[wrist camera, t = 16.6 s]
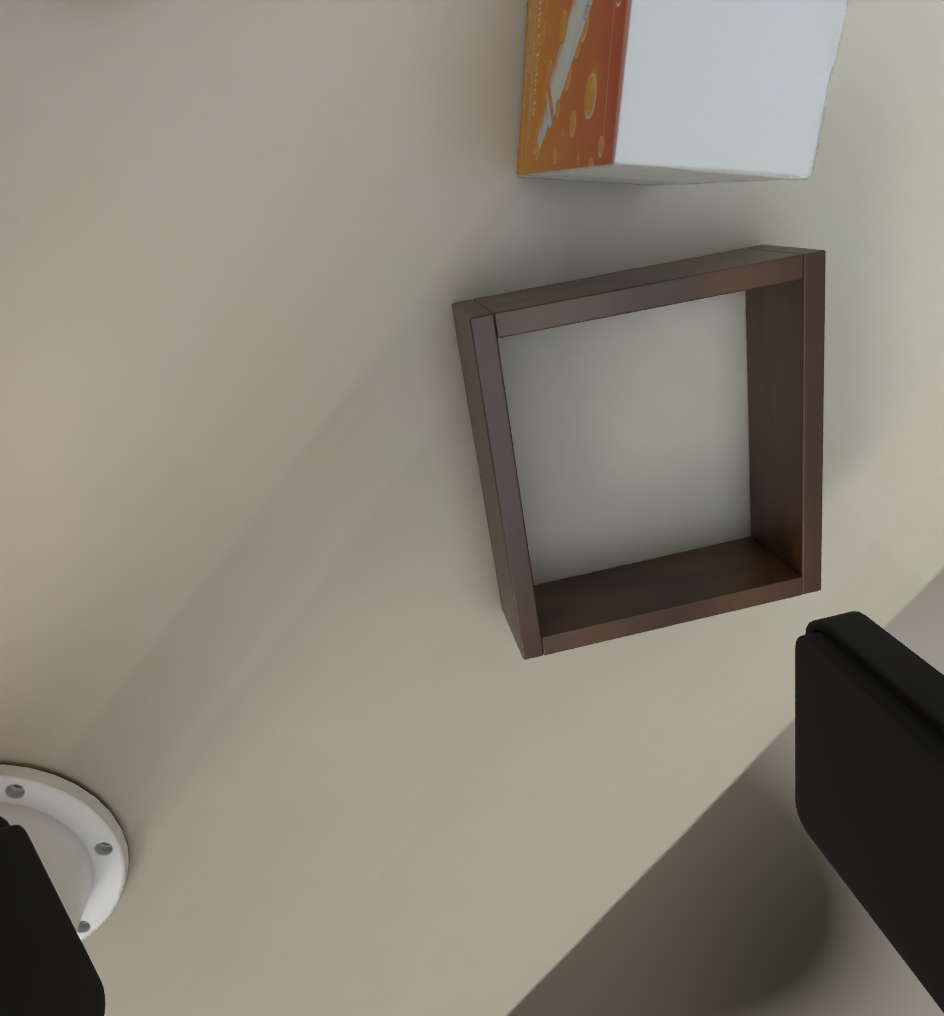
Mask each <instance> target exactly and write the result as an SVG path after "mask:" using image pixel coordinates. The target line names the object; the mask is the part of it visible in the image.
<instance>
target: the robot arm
mask: <svg viewBox="0 0 944 1016" xmlns="http://www.w3.org/2000/svg"><path fill="white" fill-rule="evenodd" d="M795 796H796V797H795V801H796V808H797V812H798V815H799V818H800V821H801V822H802V825H803V826H804V829H805V830H806V832H807V833H808V835H809V836H810V837H811V839H812V840H813V841H814V842H815V844H816V845H817V846H818V848H819V849H820V850H821V852H822V853H823V854H824V856H825V857H826V858H827V860H828V861H829V862H830V864H831V865H832V866H833V868H834V869H835V870H836V871H837V873H838V874H839V875H840V877H841V878H842V879H843V881H844V882H845V883H846V885H847V886H848V887H849V888H850V890H851V891H852V893H853V894H854V895H855V897H856V898H857V899H858V900H859V902H860V903H861V904H862V906H863V907H864V908H865V910H866V911H867V912H868V913H869V915H870V916H871V917H872V919H873V920H874V922H875V923H876V924H877V925H878V927H879V928H880V929H881V931H882V932H883V933H884V935H885V936H886V937H887V939H888V940H889V941H890V942H891V944H892V945H893V947H894V948H895V949H896V951H897V952H898V953H899V954H900V956H901V957H902V958H903V960H904V961H905V962H906V964H907V965H908V966H909V968H910V969H911V970H912V971H913V973H914V974H915V976H916V977H917V978H918V980H919V981H920V982H921V983H922V985H923V986H924V987H925V989H926V990H927V991H928V993H929V994H930V995H931V996H932V998H933V999H934V1001H935V1002H936V1003H937V1005H938V1006H939V1007H940V1008H941V1010H942V1011H943V1012H944V675H943V674H941V673H940V672H939V671H937V670H936V669H935V668H933V667H932V666H931V665H929V664H928V663H927V662H926V661H924V660H923V659H922V658H920V657H919V656H918V655H916V654H915V653H914V652H912V651H911V650H910V649H909V648H907V647H906V646H905V645H903V644H902V643H901V642H900V641H898V640H897V639H896V638H894V637H893V636H891V635H890V634H889V633H888V632H886V631H885V630H884V629H883V628H881V627H880V626H879V625H877V624H876V623H875V622H873V621H872V620H871V619H870V618H868V617H867V616H866V615H864V614H862V613H860V612H855V611H852V612H848V613H844V614H839V615H835V616H831V617H827V618H823V619H819V620H814V621H812V622H810V623H809V624H808V626H807V628H806V634H805V635H803V636H800V637H799V638H798V639H797V641H796V646H795ZM128 866H129V857H128V847H127V843H126V840H125V837H124V835H123V832H122V829H121V827H120V826H119V824H118V823H117V821H116V820H115V818H114V817H113V815H112V814H111V812H110V811H109V810H108V809H107V808H106V807H105V806H104V805H103V804H102V803H101V802H100V801H99V800H98V799H97V798H96V797H94V796H93V795H91V794H90V793H88V792H87V791H85V790H84V789H82V788H81V787H79V786H78V785H76V784H74V783H72V782H70V781H67V780H65V779H63V778H61V777H59V776H56V775H54V774H50V773H47V772H43V771H40V770H36V769H33V768H27V767H20V766H13V765H5V764H1V765H0V1016H104V1013H105V994H104V988H103V985H102V982H101V980H100V978H99V976H98V974H97V972H96V970H95V968H94V966H93V964H92V962H91V960H90V958H89V956H88V954H87V952H86V950H85V948H84V946H83V944H82V942H81V941H82V940H84V939H85V938H86V937H88V936H89V935H90V934H92V933H93V932H94V931H96V930H97V929H98V928H99V927H100V926H101V925H102V924H103V923H104V922H105V921H106V919H107V918H108V917H109V916H110V915H111V914H112V912H113V910H114V908H115V907H116V905H117V903H118V902H119V900H120V897H121V894H122V891H123V888H124V885H125V882H126V878H127V872H128Z"/></svg>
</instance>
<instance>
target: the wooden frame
mask: <svg viewBox="0 0 944 1016" xmlns="http://www.w3.org/2000/svg"><path fill="white" fill-rule="evenodd" d="M744 290H746V319H747V360H748V401H749V442H750V483H751V525H752V537H749V538H744V539H740V540H736V541H731V542H727V543H722V544H718V545H713V546H709V547H705V548H700V549H696V550H691V551H687V552H682V553H678V554H674V555H669V556H665V557H660V558H656V559H651V560H647V561H643V562H638V563H634V564H629V565H625V566H620V567H616V568H612V569H607V570H603V571H598V572H594V573H589V574H585V575H580V576H576V577H572V578H567V579H563V580H558V581H554V582H549V583H545V584H541V585H536V586H534V585H533V578H532V571H531V564H530V557H529V551H528V544H527V537H526V530H525V523H524V517H523V510H522V503H521V496H520V489H519V483H518V476H517V469H516V462H515V455H514V448H513V442H512V435H511V428H510V421H509V414H508V408H507V401H506V394H505V387H504V380H503V373H502V367H501V360H500V353H499V346H498V339H497V337H498V338H502V337H507V336H512V335H517V334H522V333H527V332H532V331H538V330H543V329H548V328H553V327H558V326H563V325H569V324H574V323H579V322H584V321H589V320H594V319H600V318H605V317H610V316H615V315H620V314H625V313H631V312H636V311H641V310H646V309H651V308H656V307H661V306H667V305H672V304H677V303H682V302H687V301H692V300H698V299H703V298H708V297H713V296H718V295H723V294H729V293H734V292H739V291H744ZM452 310H453V316H454V322H455V328H456V334H457V340H458V346H459V352H460V358H461V364H462V370H463V376H464V382H465V388H466V394H467V400H468V406H469V412H470V418H471V424H472V430H473V436H474V442H475V448H476V454H477V460H478V466H479V472H480V478H481V484H482V491H483V497H484V503H485V509H486V515H487V521H488V527H489V533H490V539H491V545H492V551H493V557H494V563H495V569H496V575H497V581H498V587H499V593H500V599H501V605H502V610H503V612H504V615H505V617H506V619H507V622H508V624H509V626H510V629H511V631H512V633H513V636H514V638H515V640H516V643H517V645H518V648H519V650H520V652H521V655H522V657H523V659H529V658H534V657H538V656H542V655H543V654H544V655H547V654H552V653H556V652H560V651H564V650H569V649H573V648H577V647H581V646H586V645H590V644H594V643H599V642H603V641H607V640H611V639H616V638H620V637H624V636H628V635H633V634H637V633H641V632H645V631H650V630H654V629H658V628H662V627H667V626H671V625H675V624H679V623H684V622H688V621H692V620H697V619H701V618H705V617H709V616H714V615H718V614H722V613H726V612H731V611H735V610H739V609H743V608H748V607H752V606H756V605H760V604H765V603H769V602H773V601H777V600H782V599H786V598H790V597H794V596H799V595H802V594H806V593H810V592H815V591H819V590H821V543H822V470H823V396H824V323H825V250H816V249H805V248H794V247H783V246H772V245H759V246H754V247H749V248H746V249H744V248H743V249H738V250H732V251H727V252H722V253H716V254H711V255H706V256H700V257H695V258H690V259H684V260H679V261H674V262H669V263H663V264H658V265H653V266H647V267H642V268H637V269H631V270H626V271H621V272H615V273H610V274H605V275H600V276H594V277H589V278H584V279H578V280H573V281H568V282H562V283H557V284H552V285H546V286H541V287H536V288H531V289H525V290H520V291H515V292H509V293H504V294H499V295H493V296H488V297H483V298H477V299H474V300H467V301H462V302H456V303H453V304H452Z"/></svg>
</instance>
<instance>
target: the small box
mask: <svg viewBox="0 0 944 1016" xmlns="http://www.w3.org/2000/svg"><path fill="white" fill-rule="evenodd" d="M847 4H848V0H528V9H527V30H526V46H525V66H524V82H523V97H522V111H521V125H520V140H519V152H518V166H517V175H518V176H519V177H526V178H543V179H559V180H575V181H591V182H607V183H624V184H641V185H674V184H698V183H717V182H744V181H766V180H806V179H808V178H809V177H810V175H811V173H812V171H813V168H814V162H815V157H816V153H817V149H818V143H819V138H820V133H821V128H822V123H823V119H824V114H825V109H826V103H827V98H828V93H829V87H830V83H831V78H832V73H833V68H834V63H835V59H836V55H837V51H838V47H839V43H840V39H841V35H842V31H843V26H844V21H845V15H846V10H847Z"/></svg>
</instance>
